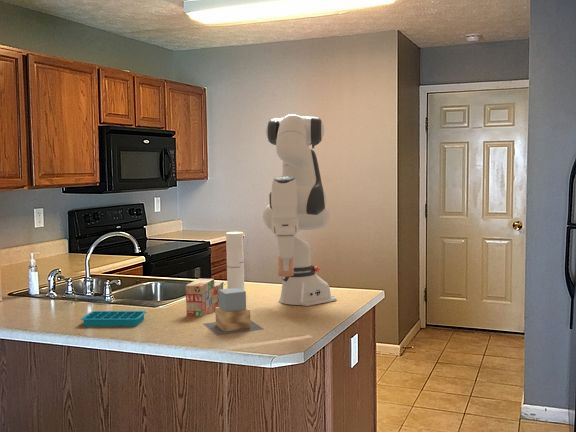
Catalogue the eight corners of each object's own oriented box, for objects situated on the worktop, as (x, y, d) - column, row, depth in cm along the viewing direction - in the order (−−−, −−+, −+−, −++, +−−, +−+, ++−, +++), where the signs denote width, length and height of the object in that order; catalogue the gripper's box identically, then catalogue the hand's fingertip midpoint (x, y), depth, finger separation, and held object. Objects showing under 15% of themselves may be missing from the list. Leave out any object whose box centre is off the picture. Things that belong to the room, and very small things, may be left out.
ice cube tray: (138, 327, 216) (137, 319, 216) (79, 327, 217) (79, 319, 217) (147, 319, 227) (147, 310, 227) (92, 319, 229) (92, 311, 228)
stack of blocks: (209, 305, 247) (208, 273, 245) (224, 305, 245) (223, 274, 244) (186, 318, 226) (185, 284, 225) (202, 319, 224) (201, 285, 223)
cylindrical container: (247, 290, 271) (246, 232, 269) (235, 293, 266) (234, 234, 264) (236, 288, 276) (234, 231, 274) (224, 291, 271) (222, 233, 268)
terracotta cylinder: (289, 273, 211) (289, 255, 211) (296, 275, 207) (295, 257, 206) (276, 274, 209) (275, 256, 209) (282, 277, 205) (281, 258, 204)
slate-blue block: (238, 305, 214) (238, 287, 214) (246, 309, 208) (245, 291, 208) (219, 307, 212) (218, 289, 211) (225, 312, 205) (225, 293, 205)
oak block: (241, 321, 216) (240, 304, 216) (250, 327, 208) (250, 309, 208) (215, 324, 213) (215, 307, 212) (224, 331, 205) (223, 313, 204)
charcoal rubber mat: (247, 320, 221) (247, 318, 221) (264, 332, 206) (264, 329, 206) (202, 326, 215) (202, 323, 214) (217, 338, 200) (217, 335, 200)
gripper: (275, 223, 217) (276, 263, 218) (275, 230, 196) (276, 274, 198) (294, 222, 217) (294, 262, 218) (295, 230, 197) (296, 274, 198)
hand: (285, 268), depth 208 cm, fingers closed on terracotta cylinder, 5 cm apart
